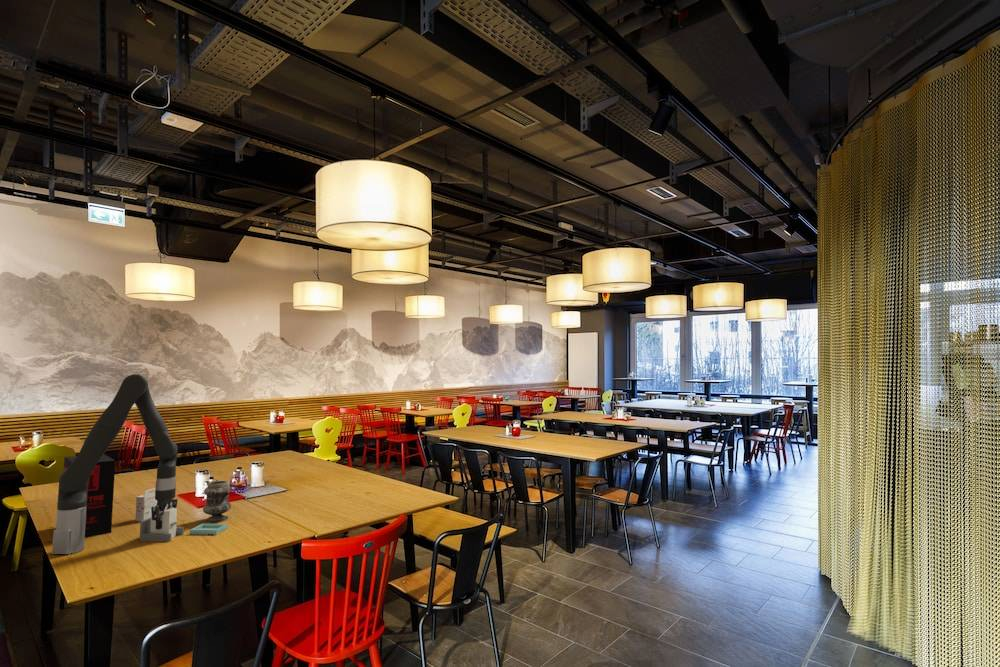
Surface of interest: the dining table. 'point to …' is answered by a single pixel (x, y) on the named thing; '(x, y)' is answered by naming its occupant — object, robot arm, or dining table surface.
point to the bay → (147, 536)
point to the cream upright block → (166, 522)
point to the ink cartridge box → (145, 505)
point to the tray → (208, 529)
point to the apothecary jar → (217, 501)
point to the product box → (98, 496)
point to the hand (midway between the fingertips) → (163, 526)
